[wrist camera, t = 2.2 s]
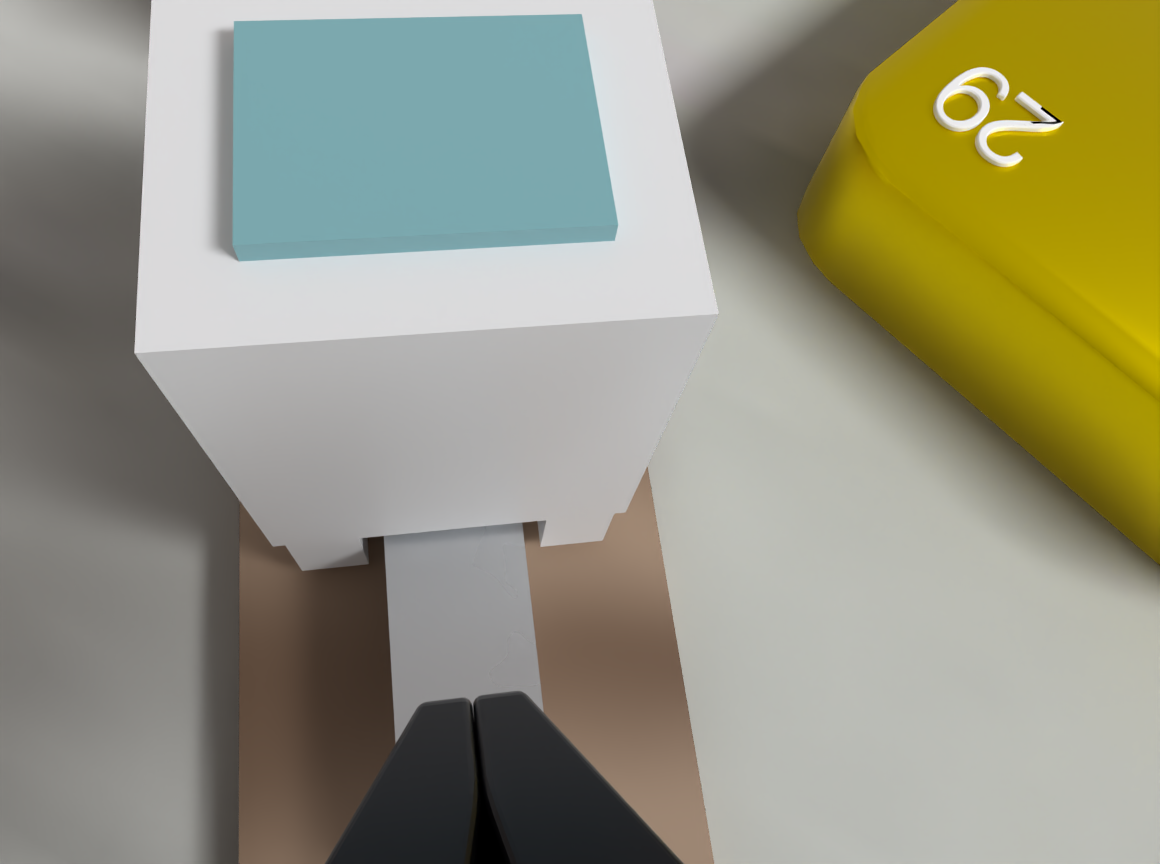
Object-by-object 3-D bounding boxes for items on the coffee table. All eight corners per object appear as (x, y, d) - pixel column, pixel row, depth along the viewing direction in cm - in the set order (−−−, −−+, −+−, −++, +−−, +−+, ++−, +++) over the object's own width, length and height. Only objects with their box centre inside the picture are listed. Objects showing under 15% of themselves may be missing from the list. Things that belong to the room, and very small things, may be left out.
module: (612, 539, 18) (725, 299, 10) (291, 571, 17) (124, 339, 9) (579, 312, 20) (649, -49, 12) (286, 331, 19) (143, -43, 11)
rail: (687, 875, 16) (760, 892, 12) (270, 940, 15) (193, 982, 11) (550, 6, 24) (566, -171, 20) (262, 12, 23) (213, -174, 19)
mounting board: (715, 931, 17) (726, 935, 16) (249, 1007, 16) (238, 1016, 15) (562, 1, 25) (565, -24, 24) (247, 7, 24) (240, -19, 23)
